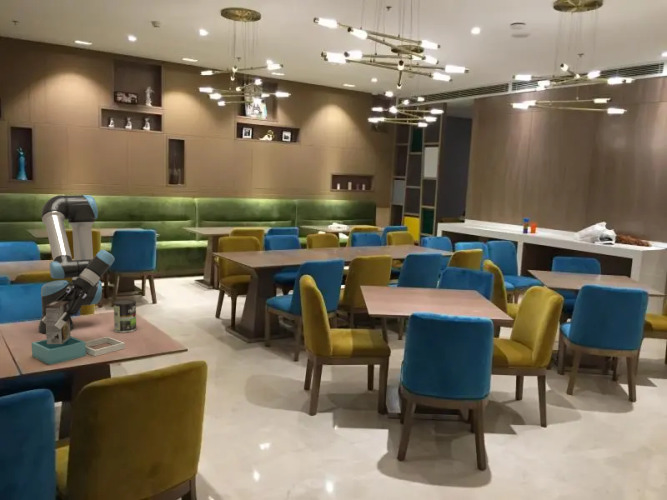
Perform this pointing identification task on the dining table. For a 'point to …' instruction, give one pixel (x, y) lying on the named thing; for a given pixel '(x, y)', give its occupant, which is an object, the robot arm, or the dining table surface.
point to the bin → (58, 350)
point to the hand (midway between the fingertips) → (50, 324)
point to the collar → (115, 346)
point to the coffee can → (125, 315)
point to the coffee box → (52, 316)
